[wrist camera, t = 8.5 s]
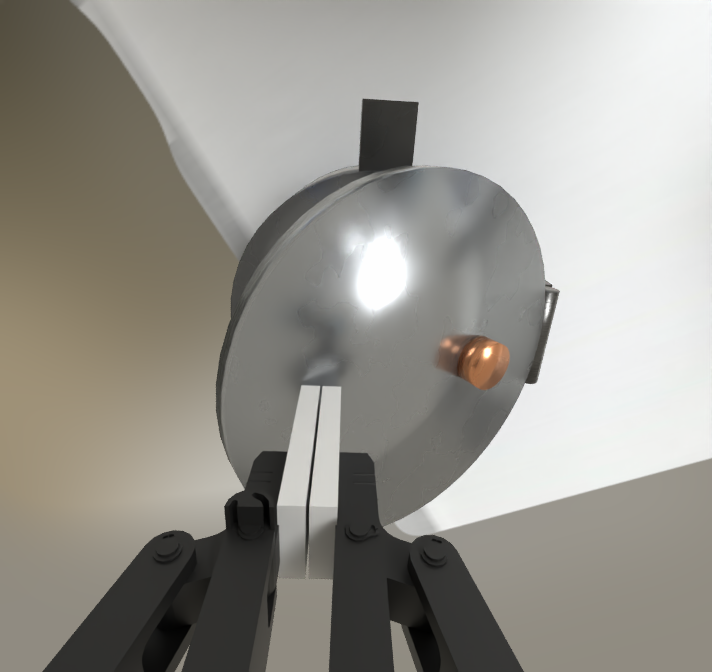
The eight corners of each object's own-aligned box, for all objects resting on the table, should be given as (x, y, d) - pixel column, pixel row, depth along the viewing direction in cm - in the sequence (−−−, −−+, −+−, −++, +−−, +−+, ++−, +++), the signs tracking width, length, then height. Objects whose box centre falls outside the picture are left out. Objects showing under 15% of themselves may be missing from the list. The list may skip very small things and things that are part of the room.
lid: (193, 154, 14) (216, 157, 12) (570, 172, 24) (614, 175, 22) (229, 576, 21) (246, 620, 19) (505, 450, 31) (534, 471, 29)
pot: (261, 109, 33) (216, 87, 22) (516, 125, 34) (596, 112, 23) (269, 392, 43) (240, 475, 32) (466, 400, 43) (506, 485, 32)
